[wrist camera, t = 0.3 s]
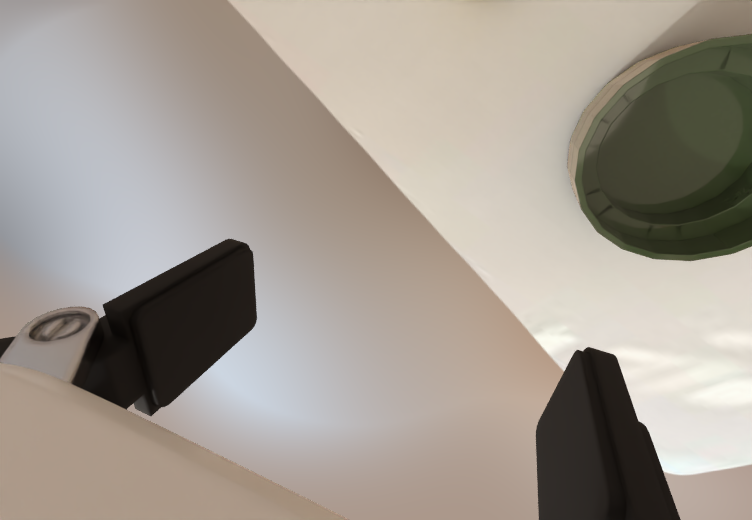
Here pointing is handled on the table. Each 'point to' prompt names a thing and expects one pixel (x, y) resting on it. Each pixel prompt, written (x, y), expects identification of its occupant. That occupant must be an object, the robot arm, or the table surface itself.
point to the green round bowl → (671, 153)
